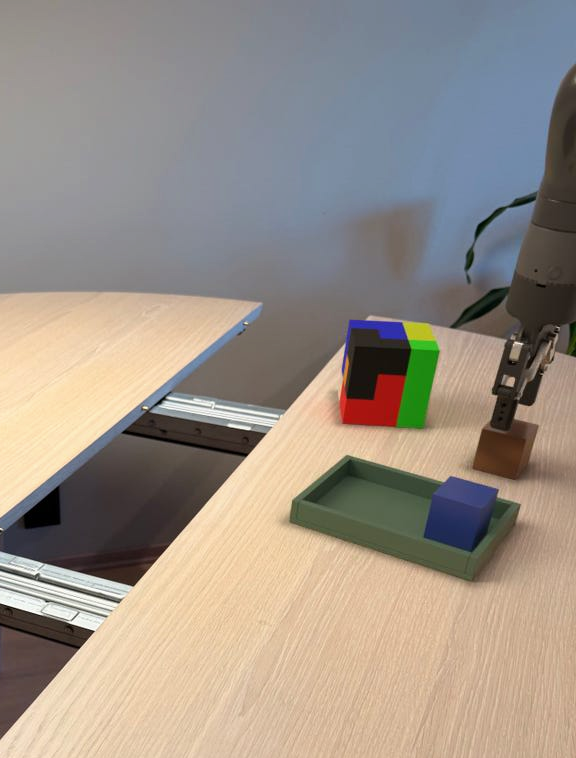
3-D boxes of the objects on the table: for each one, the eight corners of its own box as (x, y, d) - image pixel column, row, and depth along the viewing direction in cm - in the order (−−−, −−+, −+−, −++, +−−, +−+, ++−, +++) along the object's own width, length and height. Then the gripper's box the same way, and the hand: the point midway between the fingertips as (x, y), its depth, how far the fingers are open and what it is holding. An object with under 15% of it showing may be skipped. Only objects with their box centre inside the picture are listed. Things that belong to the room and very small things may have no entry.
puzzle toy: (337, 393, 133) (349, 319, 127) (413, 397, 132) (428, 323, 126) (342, 423, 125) (355, 346, 119) (423, 428, 124) (439, 350, 118)
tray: (515, 525, 104) (521, 503, 102) (471, 581, 95) (477, 558, 93) (343, 475, 113) (346, 454, 111) (288, 521, 104) (291, 499, 102)
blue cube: (487, 532, 101) (499, 488, 98) (471, 552, 98) (483, 508, 95) (440, 518, 104) (450, 475, 101) (422, 537, 100) (432, 493, 97)
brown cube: (527, 464, 115) (539, 424, 113) (514, 480, 112) (526, 439, 109) (485, 453, 118) (495, 414, 115) (471, 468, 115) (481, 428, 112)
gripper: (537, 248, 108) (499, 388, 118) (495, 279, 99) (457, 428, 109) (608, 261, 105) (563, 404, 115) (571, 293, 96) (525, 446, 105)
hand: (511, 416), depth 112 cm, fingers open, 8 cm apart
